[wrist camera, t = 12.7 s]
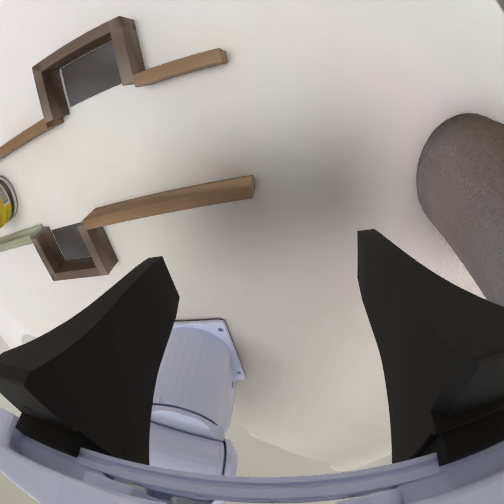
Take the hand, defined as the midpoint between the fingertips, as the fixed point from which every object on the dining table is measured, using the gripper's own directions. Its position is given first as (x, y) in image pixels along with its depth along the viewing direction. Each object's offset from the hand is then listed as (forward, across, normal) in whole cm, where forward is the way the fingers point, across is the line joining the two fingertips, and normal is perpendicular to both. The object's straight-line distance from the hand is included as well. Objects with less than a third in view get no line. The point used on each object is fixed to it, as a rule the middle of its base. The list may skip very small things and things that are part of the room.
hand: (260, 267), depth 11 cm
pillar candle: (+10, -15, +1) cm, 18 cm away
